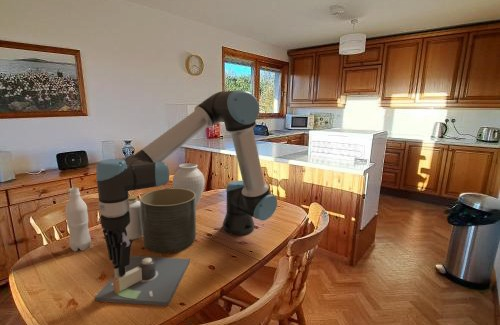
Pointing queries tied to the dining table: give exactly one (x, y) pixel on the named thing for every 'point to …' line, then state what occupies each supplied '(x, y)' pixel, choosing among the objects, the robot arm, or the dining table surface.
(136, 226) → the potion bottle
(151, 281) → the dial board
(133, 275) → the peg lever
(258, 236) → the dining table surface
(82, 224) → the water bottle
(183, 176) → the vase
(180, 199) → the planter
